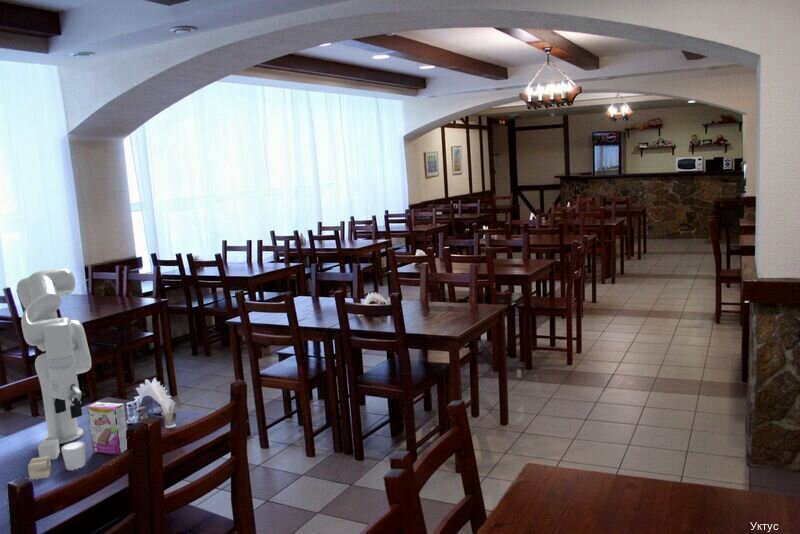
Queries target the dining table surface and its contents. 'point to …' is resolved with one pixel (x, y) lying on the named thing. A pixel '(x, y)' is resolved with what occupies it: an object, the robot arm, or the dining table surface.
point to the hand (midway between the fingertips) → (68, 414)
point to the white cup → (74, 455)
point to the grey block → (49, 448)
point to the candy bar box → (108, 427)
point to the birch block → (39, 467)
